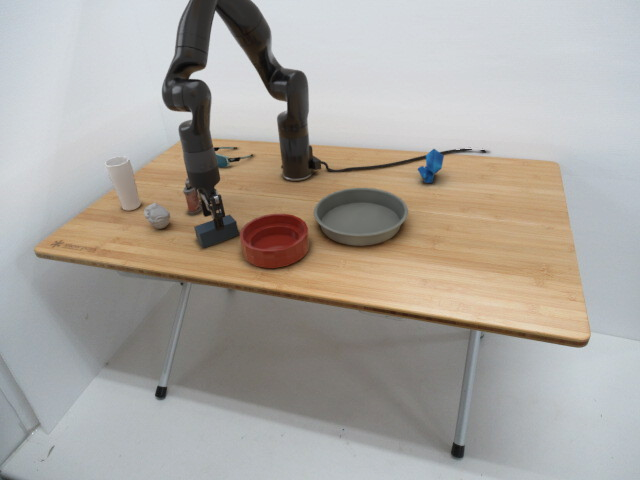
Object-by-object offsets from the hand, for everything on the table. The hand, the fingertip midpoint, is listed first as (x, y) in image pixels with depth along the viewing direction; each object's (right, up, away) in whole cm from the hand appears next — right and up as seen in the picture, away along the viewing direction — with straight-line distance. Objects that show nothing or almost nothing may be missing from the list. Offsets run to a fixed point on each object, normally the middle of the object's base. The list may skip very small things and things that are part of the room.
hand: (213, 222), depth 120 cm
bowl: (+16, -7, -3) cm, 18 cm away
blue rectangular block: (0, -4, +3) cm, 5 cm away
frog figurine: (-17, -1, +9) cm, 19 cm away
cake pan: (+38, 0, +5) cm, 39 cm away
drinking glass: (-29, +5, +20) cm, 36 cm away
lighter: (-9, +5, +17) cm, 20 cm away
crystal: (+61, +14, +24) cm, 67 cm away
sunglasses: (-5, +24, +45) cm, 51 cm away
